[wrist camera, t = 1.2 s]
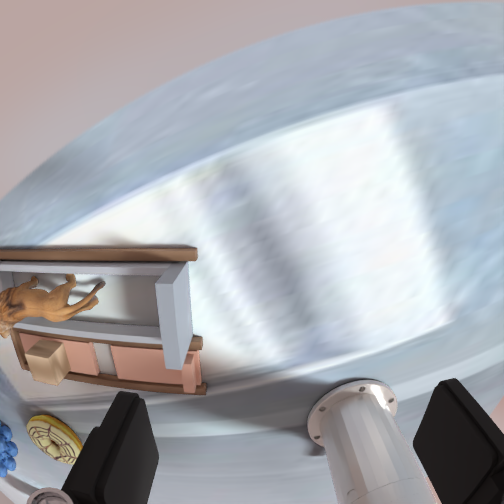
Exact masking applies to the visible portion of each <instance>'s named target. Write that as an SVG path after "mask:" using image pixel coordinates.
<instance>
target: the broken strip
mask: <svg viewBox="0 0 504 504" xmlns="http://www.w3.org/2000/svg"><path fill="white" fill-rule="evenodd" d="M19 335H20V338H21V341H22V345H23V348H24V351H25V353H26V352H27V351H28V350H29V349H30V348H31V347H32V346H33V345H34V344H35V343H37V342H38V341H39V340H40V339H43V340H49V341H55V342H62V343H64V347H65V350H66V354H67V357H68V361H69V364H70V367H71V370H70V371H72V372H78V373H84V374H90V375H96V376H97V375H98V374H99V372H100V369H99V365H98V362H97V358H96V354H95V350H94V346H93V342H86V341H78V340H71V339H63V338H56V337H49V336H43V335H37V334H31V333H25V332H19ZM110 347H111V351H112V356H113V360H114V364H115V368H116V372H117V376H118V379H126V380H135V381H145V382H156V383H168V384H183V388H184V392H185V393H195V390H196V385H201V382H202V378H201V368H200V357H199V350H188V352H187V355H186V358H185V361H184V364H183V367H182V370H174V369H166V366H165V360H164V353H163V348H151V347H137V346H125V345H114V344H111V346H110Z"/></svg>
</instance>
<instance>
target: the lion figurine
mask: <svg viewBox="0 0 504 504" xmlns="http://www.w3.org/2000/svg"><path fill="white" fill-rule="evenodd" d="M66 280H67V281H68V282H67V283H65V284H62V285H60V286H58V287H56V288H55V289H54V290H52V291H51V292H50V293H48V292H47V291H45V290H42V289H31V288H34V287H36V286H37V285H38V279H37V278H36V277H35V276H33V277H32V278H31V281H28V282H26V283H23V284H21V285H20V286H19V287H17V288H16V287H10V288H7V289H6V290H4V291H2V292H1V293H0V335H1V336H2V337H3V338H7V337H8V336H9V335H10V332H11V331H10V330H11V328H13V326H14V325H15V324H16V323H18V322H20V321H21V320H23V319H24V318H26V317H44V318H45V319H47V320H49V321H52V322H61V321H65V320H67V319H70V318H71V317H73V316H74V315H76V314H77V313H79V312H82V311H85V310H90V309H92V308H93V307H94V306H95V305H96V304H98V302H99V301H98V298H97V297H96V296H94V295H95V294H96V292H97V291H98V290H99V289H101V288H103V286H105V282H104V281H103V282H100V283H98V284H97V285H96V286H95V287H94V289H93V290H92V291H91V292H90V293H89V294H88V295H87V296H86V297H85V298H84V299H82V300H81V301H79V302H78V303H76V304H74V305H71V306H70V305H69V304H67V301H68V297H69V294H70V290H71V289H72V288H74V287H76V278H75V275H74V274H66Z"/></svg>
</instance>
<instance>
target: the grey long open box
mask: <svg viewBox="0 0 504 504" xmlns="http://www.w3.org/2000/svg"><path fill="white" fill-rule="evenodd" d="M12 271H14V272H37V273H65V274H98V275H145V276H161V277H160V278H159V279H158V281H157V282H156V283H155V288H156V298H157V307H158V315H159V324H160V327H158V326H139V325H124V324H110V323H98V322H87V321H76V320H65V321H61V322H52V321H49V320H47V319H45V318H44V317H26V318H24V319H23V320H21V321H20V322H18V323H16V324H15V325H14V326H13V327H15V328H21V329H27V330H33V331H39V332H46V333H53V334H60V335H68V336H75V337H84V338H93V339H102V340H112V341H123V342H136V343H150V344H162V346H163V353H164V360H165V366H166V369H174V370H182V367H183V364H184V361H185V358H186V355H187V352H188V349H189V345H190V342H191V339H192V336H193V327H192V314H191V301H190V286H189V269H188V261H89V260H12V259H4V260H2V261H0V293H1V292H2V291H4V290H6V289H7V288H10V287H15V286H14V282H13V276H12Z"/></svg>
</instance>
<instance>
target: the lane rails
mask: <svg viewBox="0 0 504 504" xmlns="http://www.w3.org/2000/svg"><path fill="white" fill-rule="evenodd" d="M197 258H198V256H197V248H121V249H0V261H2V259H12V260H89V261H196V260H197ZM10 331H11V332H10V335H11V338H12V341H13V344H14V347H15V350H16V353H17V356H18V359H19V362H20V365H21V368H22V369H24V370H28V371H30V368H29V365H28V362H27V360H26V357H25V351H24V348H23V345H22V341H21V338H20V335H19V332H25V333H31V334H37V335H43V336H49V337H56V338H63V339H71V340H78V341H86V342H95V343H104V344H114V345H125V346H137V347H151V348H163V346H162V344H150V343H136V342H123V341H112V340H102V339H93V338H84V337H75V336H68V335H60V334H53V333H46V332H39V331H33V330H27V329H21V328H15V327H13V328H11V330H10ZM202 346H203V340H202V337H192V339H191V342H190V345H189V349H188V350H202ZM64 379H69V380H74V381H80V382H85V383H91V384H97V385H104V386H110V387H118V388H125V389H133V390H142V391H152V392H163V393H176V394H191V395H206V391H207V387H206V383H201V385H196V390H195V393H185V392H184V388H183V384H168V383H156V382H145V381H135V380H126V379H118V376H115V375H107V374H100V373H99V374H98V375H97V376H96V375H90V374H84V373H78V372H72V371H69V372H68V373H67V375H66V376H65V377H64Z"/></svg>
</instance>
